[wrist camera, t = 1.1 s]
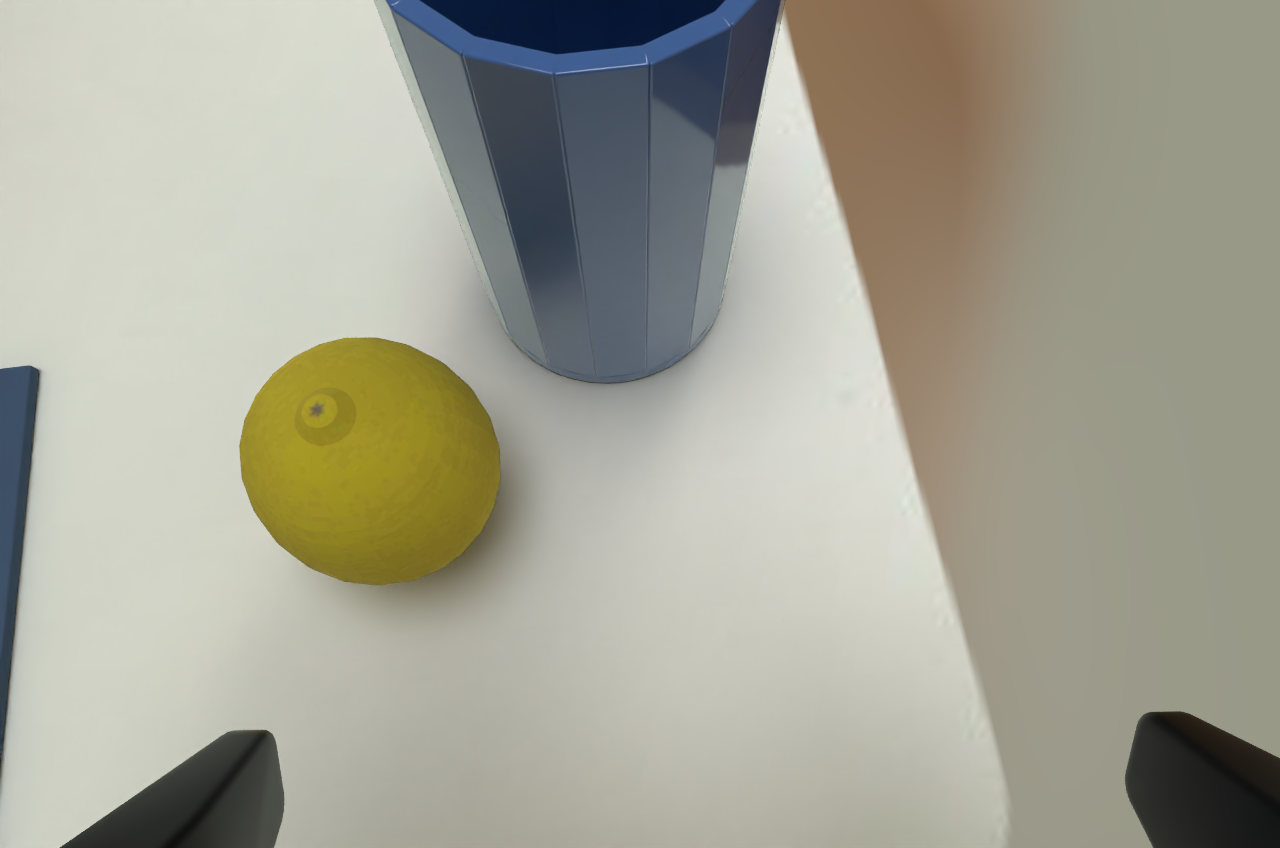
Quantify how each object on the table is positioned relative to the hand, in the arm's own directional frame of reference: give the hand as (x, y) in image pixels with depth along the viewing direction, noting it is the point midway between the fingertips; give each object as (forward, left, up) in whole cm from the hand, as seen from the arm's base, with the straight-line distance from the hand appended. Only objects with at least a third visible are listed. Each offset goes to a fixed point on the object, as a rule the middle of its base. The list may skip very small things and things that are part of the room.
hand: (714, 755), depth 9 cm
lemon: (+7, +6, -14) cm, 17 cm away
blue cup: (+13, 0, -14) cm, 19 cm away
